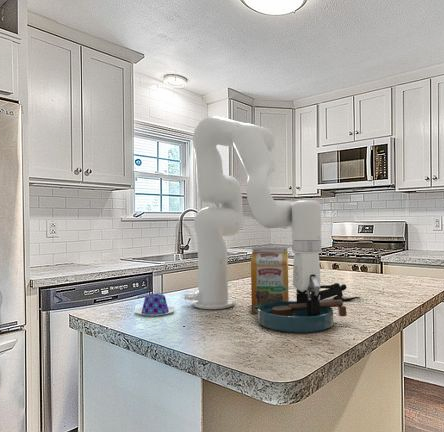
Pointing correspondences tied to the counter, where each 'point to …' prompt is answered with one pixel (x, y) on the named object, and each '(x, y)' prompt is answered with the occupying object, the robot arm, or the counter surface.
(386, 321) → the counter surface
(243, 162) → the robot arm
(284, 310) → the ladle
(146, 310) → the pudding
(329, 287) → the dark humanoid figurine
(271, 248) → the milk carton
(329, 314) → the bowl
